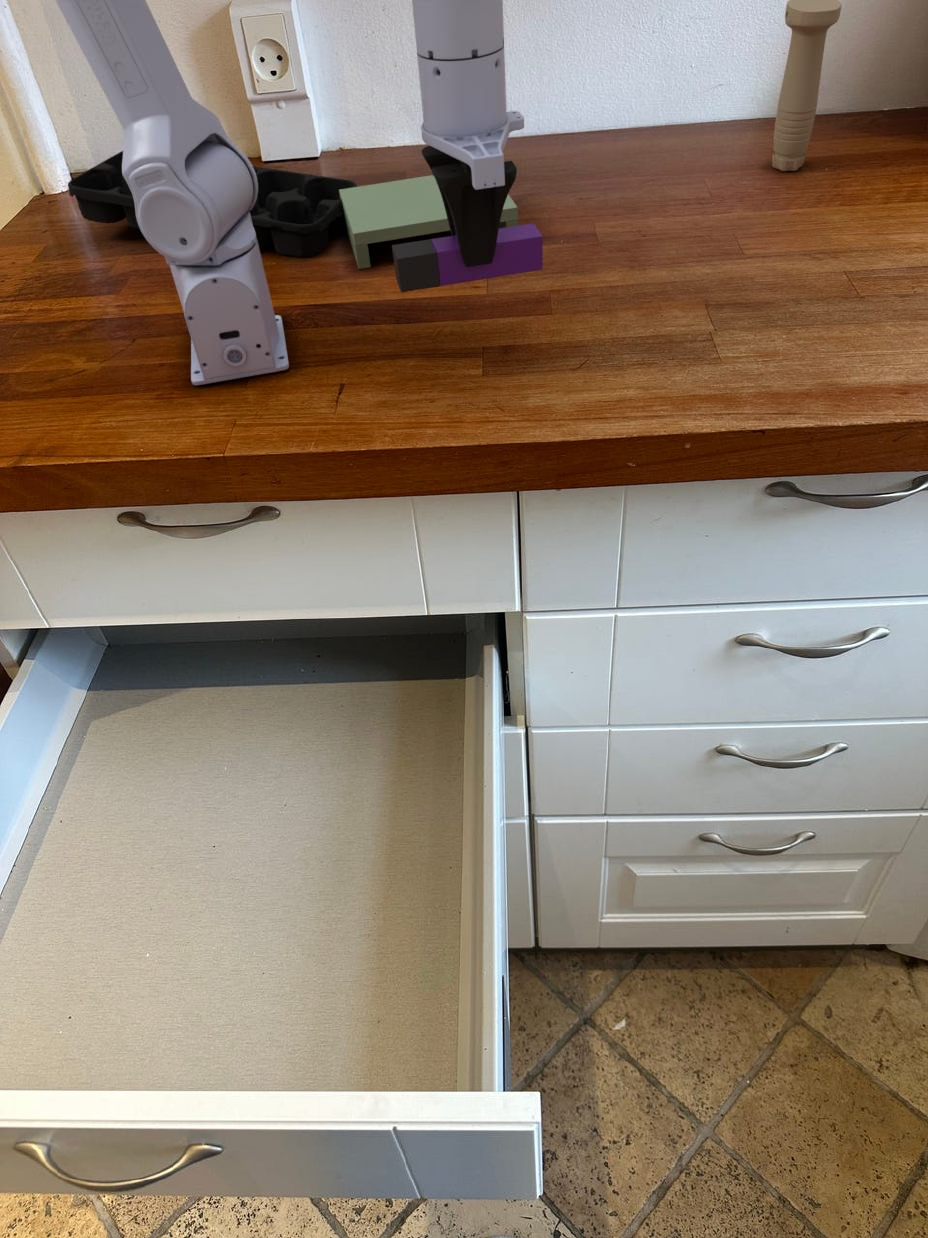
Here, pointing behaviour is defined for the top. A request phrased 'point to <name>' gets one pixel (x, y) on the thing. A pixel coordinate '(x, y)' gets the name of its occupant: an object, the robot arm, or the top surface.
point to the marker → (445, 265)
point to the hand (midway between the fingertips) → (474, 255)
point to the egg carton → (281, 215)
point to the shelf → (399, 213)
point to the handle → (801, 79)
